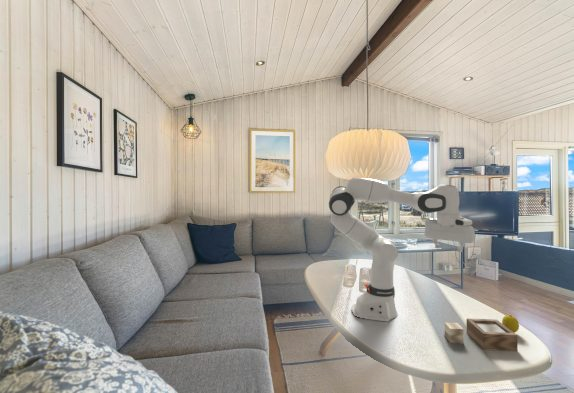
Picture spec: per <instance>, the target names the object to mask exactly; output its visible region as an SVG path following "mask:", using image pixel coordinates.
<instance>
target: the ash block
mask: <svg viewBox="0 0 574 393" xmlns="http://www.w3.org/2000/svg"><path fill="white" fill-rule="evenodd" d="M444 337H445V339H447V341H448V342H449V343H451V344H464V340H465V339H464V328H463V327H462V326H461V325H460V324H459V323H458V322H444Z"/></svg>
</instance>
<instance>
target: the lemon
mask: <svg viewBox="0 0 574 393" xmlns="http://www.w3.org/2000/svg"><path fill="white" fill-rule="evenodd" d="M501 323H502V324H503V325H505V326H506V327H507V328H509V329H510V330H511V331H513V332H514V333H517V332H518V331H519V330H520V323H519V321H518V319H517V318H516V317H515V316H514V315H512V314H505V315H504V316H503V317H502V320H501Z"/></svg>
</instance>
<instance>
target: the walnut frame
mask: <svg viewBox="0 0 574 393" xmlns="http://www.w3.org/2000/svg"><path fill="white" fill-rule="evenodd" d="M466 334H467V335H469V336H470V337H471V339H472V340H474V342H475V343H477V344H478V345H479V347H480V348H482V349H483V350H489V351H490V350H493V351H508V352H509V351H510V352H511V351H512V352H518V334H516V332H513V331H511V330H510V329H509V328H507V327H506V326H505V325H503V324H502V321H501V322H500V321H499V320H498V319H492V318H491V319H490V318H466Z"/></svg>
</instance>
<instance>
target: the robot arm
mask: <svg viewBox="0 0 574 393" xmlns="http://www.w3.org/2000/svg"><path fill="white" fill-rule="evenodd" d="M358 200H359V201H364V202H368V203H377V204H383V203H387V202H388V203H389V202H391V203H397V204H401V205H405V206H408V207H410V208H411V209H412V210H414V211H417V212H420V213H426V214H433V213H436V218H427V219H425V220H424V226H425V227H424V236H425V238H427V239H428V238H429V239H432V242H433V244H434V248H435V249H440V248H441V244H439V243H438V240H440V241H441V240H443V241H451V242H457V243H459V245H460V246H458V247H456V248H457V249H456V252H459V253H463V252H464V251H463V250H464V249H463V248H464V247H465V246H466V244H473V243H474V242H476V232H475V229H474V228H475V227H474V226H472V225H473V220H471V219H468V218H466V217H463V216H461V215H460V210H459V206H460V192H459V189H458V188H457V186H455V185H452V184H443V183H442V184H438V185H437V186H436V187H434V188H432V189H431V190H428V191H416V192H408V191H404V190H398V189H395V188H392V187H391V186H389V185H388V183H386V182H385V181H381V180H378V179H373V178H367V177H352V178H350V179H349V180H348V182H347V185H346V186H344V185H341V186H336V187H335V188H334V189H333V190H332V191H331V193H330V196H329V202H328V207H329V210H330V212H331V216H330V223H331V224H332V226H334V228H336V229H337V231H339V232H340V233H341V234H343V235H344V236H345V237H347V238H348V239H349V240H350V241H352V242H354V244H357V245H358V246H360V247H361V248H362V249H364V250H365V251H367V252H368V253H370V254H371V256H372V262H371V267H370V270H369V271H370V283H367V282H366V283H365V284H364V286H365V288H366V291H365V292H364V293H362V294H360V295H359V296H357V298H356V302H355V304H352V306H351V313H352V312H353V313H352V314H354V315H355V316H357V317H360V318H359V319H362V318H365V319H364V320H371V321H378V322H390V321H391V320H392V319H396V317H398V311H397V308H396V302H395V298H396V297H395V296H396V294H395V293H396V291H395V290H396V289H395V286H394V270H395V263H396V260H397V258H398V255H399V252H398V249H397V247H396V245H395V244H394V243H393V242H392V241H390V240H389V239H387V238H385V237H384V236H382V235H381V234H380V233H378V232H377V231H375V229H373V228H372V227H371V226H369V225H368V224H366V223H365V222H364V221H363V220H361V219H360V218H358V217H357V216H355V215H354V214H353V213H352V212H350V210H351V209H352V207H353V206H354V204H355V201H358ZM354 315H353V316H354ZM355 316H354V317H355ZM357 317H356V318H357Z"/></svg>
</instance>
